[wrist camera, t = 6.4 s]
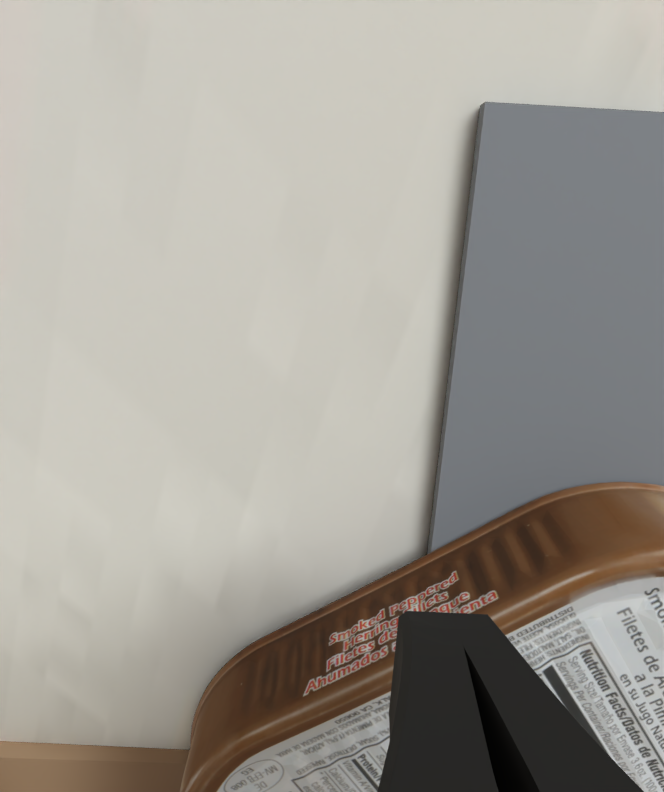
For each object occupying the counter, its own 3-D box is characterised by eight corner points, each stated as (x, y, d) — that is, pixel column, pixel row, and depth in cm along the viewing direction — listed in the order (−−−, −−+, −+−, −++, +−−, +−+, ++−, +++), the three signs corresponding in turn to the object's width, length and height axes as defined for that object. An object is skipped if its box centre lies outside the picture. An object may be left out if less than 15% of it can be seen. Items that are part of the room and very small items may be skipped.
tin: (125, 707, 15) (307, 879, 18) (79, 840, 12) (307, 1022, 15) (694, 407, 12) (803, 663, 15) (813, 483, 9) (922, 784, 12)
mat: (399, 787, 16) (401, 802, 16) (480, 105, 11) (485, 101, 11) (688, 801, 16) (697, 815, 16) (906, 129, 11) (926, 127, 11)
